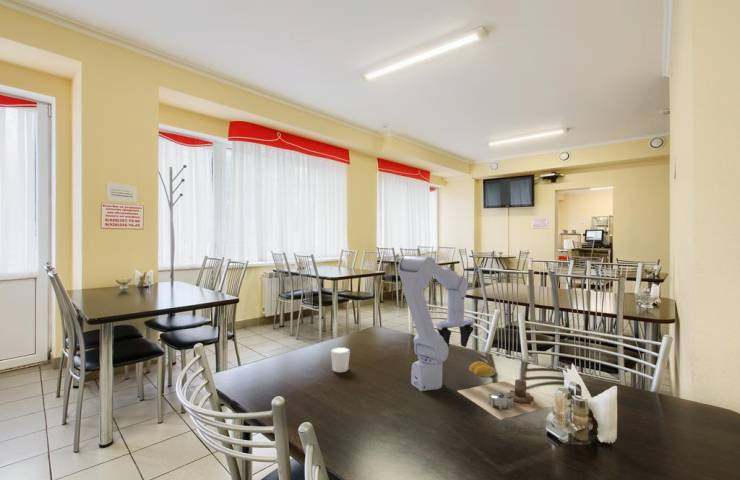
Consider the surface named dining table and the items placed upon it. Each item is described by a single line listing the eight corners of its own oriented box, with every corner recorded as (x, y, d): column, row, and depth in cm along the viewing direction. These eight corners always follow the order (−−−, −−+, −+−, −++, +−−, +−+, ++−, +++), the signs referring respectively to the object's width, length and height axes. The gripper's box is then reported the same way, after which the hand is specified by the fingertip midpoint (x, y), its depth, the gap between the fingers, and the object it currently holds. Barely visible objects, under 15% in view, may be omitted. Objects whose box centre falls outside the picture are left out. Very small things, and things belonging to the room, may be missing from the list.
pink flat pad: (520, 408, 98) (520, 407, 98) (500, 396, 105) (500, 395, 105) (540, 403, 101) (540, 402, 101) (519, 392, 108) (519, 391, 108)
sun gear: (500, 412, 96) (500, 401, 96) (483, 401, 102) (483, 391, 102) (518, 408, 98) (518, 397, 98) (500, 397, 104) (501, 387, 104)
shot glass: (348, 373, 123) (349, 353, 123) (329, 372, 124) (329, 353, 123) (350, 365, 130) (350, 347, 130) (331, 365, 130) (332, 346, 130)
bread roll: (479, 381, 119) (480, 369, 119) (465, 370, 128) (466, 360, 127) (500, 378, 121) (501, 367, 121) (485, 368, 130) (485, 358, 130)
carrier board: (500, 423, 92) (500, 419, 92) (456, 394, 109) (456, 390, 109) (553, 408, 100) (553, 405, 100) (505, 383, 117) (505, 380, 117)
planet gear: (521, 406, 98) (521, 388, 98) (502, 396, 105) (502, 378, 105) (538, 402, 101) (539, 384, 101) (519, 392, 108) (519, 375, 108)
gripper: (445, 313, 117) (444, 353, 117) (479, 309, 123) (478, 348, 123) (433, 308, 123) (432, 347, 124) (466, 305, 129) (465, 342, 130)
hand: (454, 347), depth 124 cm, fingers open, 7 cm apart
